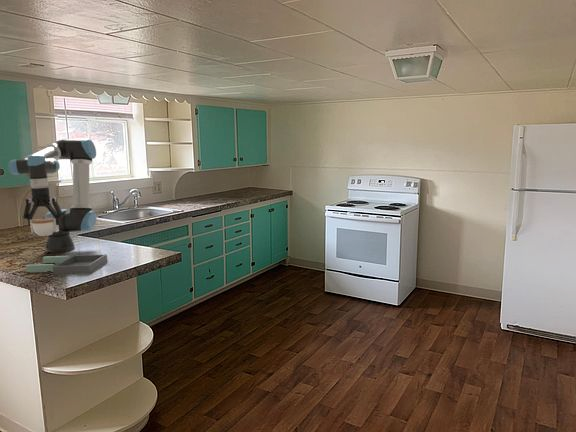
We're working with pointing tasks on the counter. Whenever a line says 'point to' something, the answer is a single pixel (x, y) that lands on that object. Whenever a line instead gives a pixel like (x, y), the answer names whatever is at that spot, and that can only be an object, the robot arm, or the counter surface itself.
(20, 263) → the counter surface
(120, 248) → the counter surface
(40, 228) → the white round bowl
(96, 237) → the counter surface
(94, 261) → the tray
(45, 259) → the rail holder
